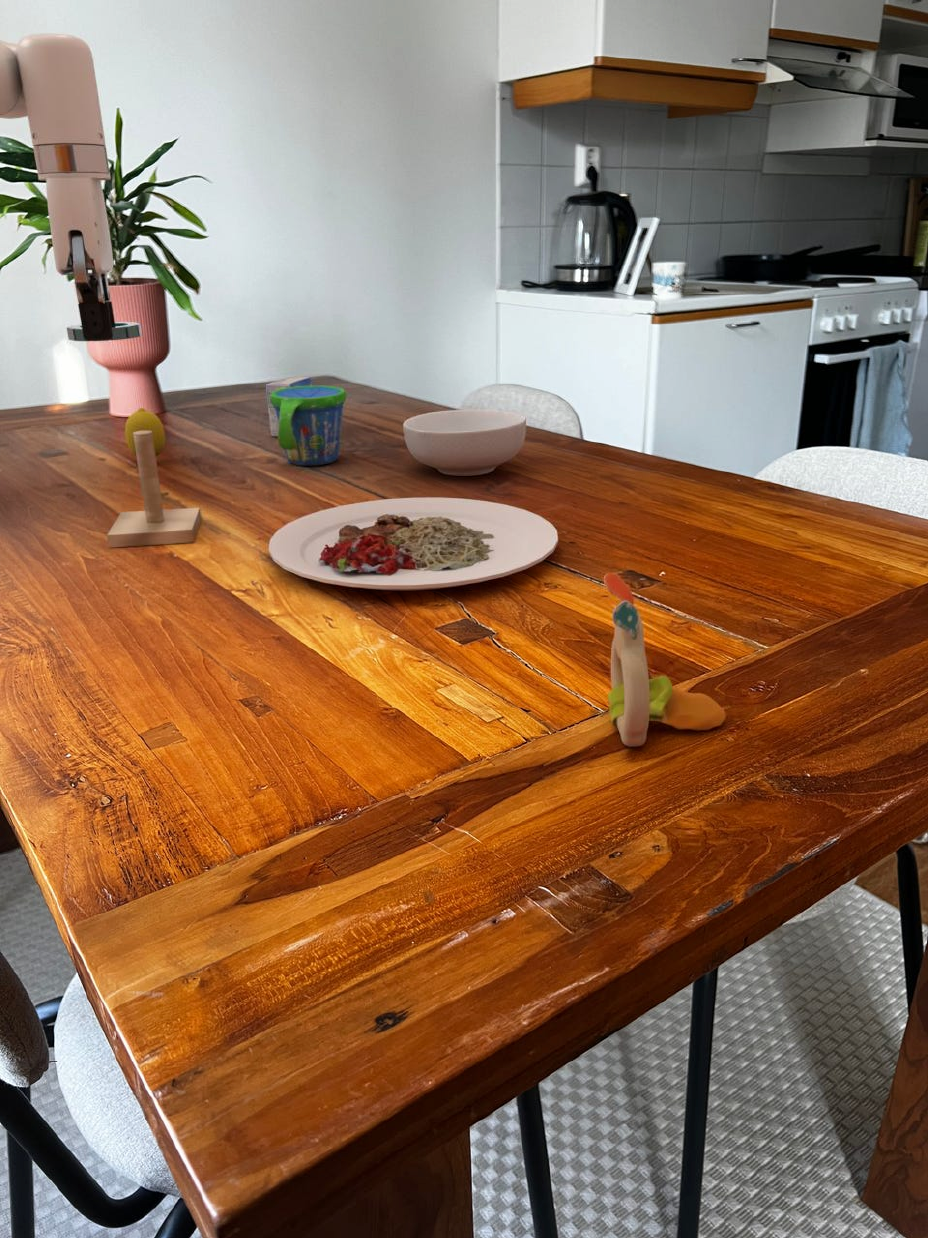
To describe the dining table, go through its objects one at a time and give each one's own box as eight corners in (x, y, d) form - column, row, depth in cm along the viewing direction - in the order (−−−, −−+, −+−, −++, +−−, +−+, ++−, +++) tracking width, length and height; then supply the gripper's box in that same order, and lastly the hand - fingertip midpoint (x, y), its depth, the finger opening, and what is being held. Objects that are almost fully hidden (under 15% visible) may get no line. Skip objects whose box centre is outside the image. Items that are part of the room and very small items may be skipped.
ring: (63, 342, 112) (61, 330, 111) (76, 335, 119) (74, 323, 119) (136, 339, 113) (134, 326, 113) (144, 332, 121) (143, 320, 120)
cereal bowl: (483, 450, 146) (482, 403, 143) (550, 472, 133) (550, 420, 130) (383, 466, 137) (381, 417, 135) (445, 491, 124) (443, 436, 122)
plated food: (587, 524, 110) (588, 495, 108) (507, 620, 84) (507, 584, 82) (349, 504, 119) (347, 477, 118) (212, 585, 93) (207, 552, 92)
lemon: (122, 466, 141) (113, 410, 138) (142, 457, 146) (134, 404, 143) (156, 467, 139) (148, 411, 136) (175, 459, 144) (168, 405, 141)
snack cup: (315, 476, 133) (309, 401, 129) (251, 470, 137) (244, 397, 133) (371, 453, 146) (367, 384, 142) (311, 447, 150) (306, 381, 146)
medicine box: (294, 438, 157) (289, 384, 154) (270, 436, 158) (265, 383, 155) (316, 428, 164) (312, 376, 160) (292, 427, 165) (287, 375, 162)
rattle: (721, 771, 60) (738, 600, 56) (591, 755, 62) (597, 589, 58) (725, 716, 67) (740, 559, 63) (607, 703, 69) (613, 551, 65)
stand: (109, 547, 105) (91, 442, 100) (122, 524, 113) (107, 426, 109) (193, 542, 106) (180, 438, 102) (201, 519, 114) (189, 422, 110)
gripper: (52, 169, 113) (80, 332, 120) (19, 161, 98) (52, 347, 105) (119, 168, 114) (142, 330, 121) (95, 160, 100) (123, 344, 107)
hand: (100, 337), depth 113 cm, fingers closed on ring, 1 cm apart
